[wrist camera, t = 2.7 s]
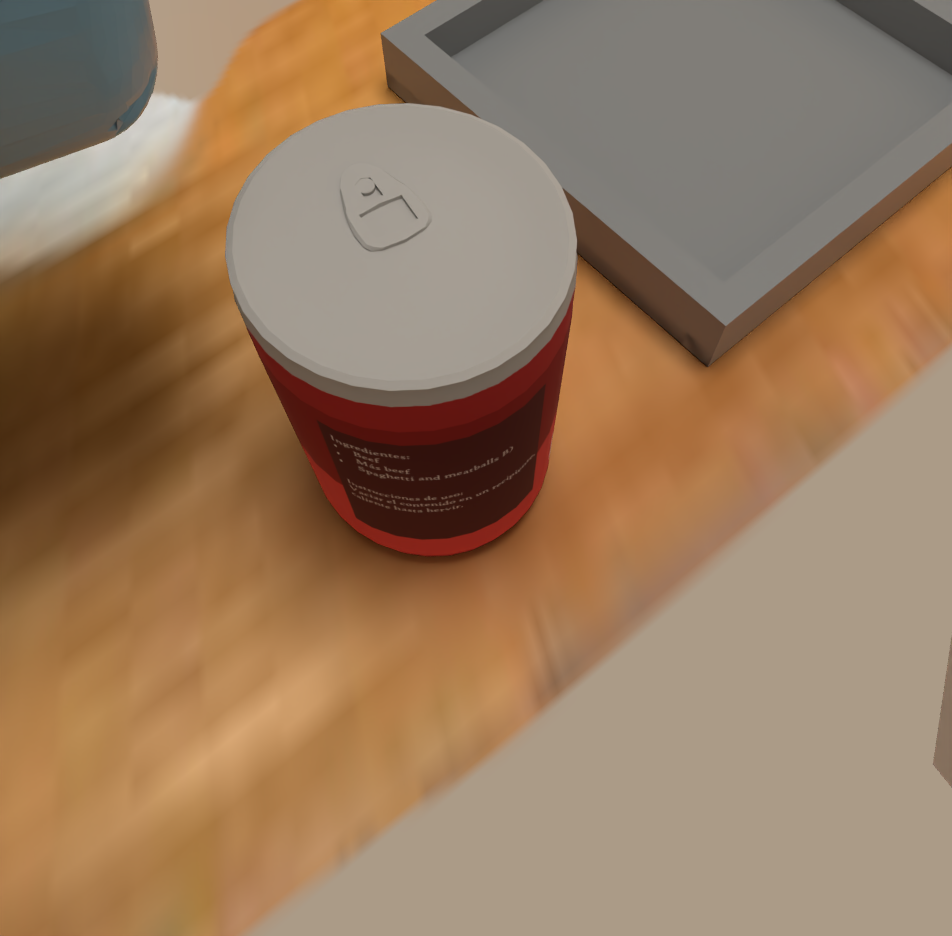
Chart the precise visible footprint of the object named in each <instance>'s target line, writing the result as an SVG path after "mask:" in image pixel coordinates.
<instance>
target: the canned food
mask: <svg viewBox="0 0 952 936" xmlns="http://www.w3.org/2000/svg"><path fill="white" fill-rule="evenodd" d="M576 249H577V237H576V231H575V225H574V219H573V213H572V211H571V208H570V206H569V203H568V201H567V198H566V196H565V194H564V191H563V189H562V187H561V185H560V184H559V182H558V181H557V180H556V178H555V177H554V175H553V174H552V172H551V171H550V169H549V168H548V167H547V165H546V164H545V163H544V162H543V161H542V160H541V159H540V158H539V157H538V156H537V155H536V154H535V153H534V152H533V151H532V150H531V149H530V148H529V147H528V146H526V145H525V144H524V143H523V142H521V141H520V140H518V139H517V138H515V137H514V136H512V135H511V134H509V133H508V132H506V131H505V130H503V129H502V128H500V127H498V126H496V125H494V124H492V123H489V122H487V121H485V120H482V119H480V118H478V117H476V116H473V115H471V114H467V113H463V112H460V111H456V110H452V109H448V108H444V107H440V106H431V105H421V104H412V103H403V104H379V105H373V106H368V107H362V108H357V109H352V110H347V111H344V112H341V113H338V114H336V115H333V116H330V117H327V118H324V119H322V120H319V121H317V122H315V123H313V124H311V125H309V126H307V127H306V128H304V129H302V130H300V131H298V132H296V133H295V134H293V135H291V136H290V137H288V138H287V139H286V140H285V141H283V142H282V143H281V144H280V145H278V146H277V147H276V148H275V149H273V150H272V151H271V152H270V153H268V154H267V155H266V157H265V158H264V159H263V160H262V161H261V162H260V164H259V165H258V166H257V167H256V168H255V169H254V170H253V172H252V173H251V174H250V175H249V176H248V178H247V180H246V182H245V184H244V185H243V187H242V189H241V191H240V192H239V194H238V196H237V198H236V200H235V202H234V205H233V209H232V212H231V215H230V219H229V222H228V225H227V233H226V251H225V257H226V263H227V268H228V273H229V279H230V284H231V286H232V289H233V293H234V298H235V302H236V304H237V306H238V309H239V311H240V313H241V315H242V318H243V320H244V322H245V324H246V327H247V330H248V332H249V335H250V337H251V339H252V341H253V344H254V346H255V348H256V350H257V352H258V355H259V357H260V359H261V361H262V363H263V365H264V367H265V369H266V372H267V374H268V376H269V378H270V380H271V382H272V384H273V386H274V388H275V390H276V393H277V395H278V397H279V399H280V401H281V403H282V405H283V407H284V409H285V412H286V414H287V416H288V418H289V420H290V422H291V424H292V426H293V428H294V430H295V433H296V435H297V437H298V439H299V441H300V443H301V445H302V447H303V449H304V452H305V454H306V456H307V458H308V460H309V462H310V464H311V466H312V468H313V470H314V473H315V475H316V477H317V479H318V481H319V483H320V485H321V487H322V489H323V492H324V494H325V496H326V498H327V499H328V500H329V502H330V503H331V504H332V506H333V507H334V509H335V510H336V511H337V513H338V514H339V515H340V516H341V517H342V518H343V519H344V520H345V521H346V522H347V523H348V524H349V525H351V526H352V527H353V528H354V529H355V530H356V531H357V532H359V533H361V534H362V535H364V536H366V537H367V538H369V539H371V540H372V541H374V542H376V543H378V544H380V545H383V546H386V547H389V548H391V549H394V550H397V551H400V552H403V553H407V554H414V555H421V556H450V555H454V554H458V553H462V552H467V551H471V550H473V549H476V548H478V547H480V546H482V545H484V544H486V543H489V542H491V541H493V540H494V539H496V538H497V537H499V536H500V535H501V534H503V533H504V532H505V531H507V530H508V529H510V528H511V527H512V526H514V525H515V524H516V523H517V522H518V521H519V519H520V518H521V517H522V516H523V515H524V514H525V513H526V512H527V510H528V509H529V508H530V507H531V505H532V503H533V502H534V500H535V498H536V496H537V495H538V493H539V491H540V489H541V487H542V484H543V481H544V478H545V474H546V471H547V468H548V463H549V456H550V450H551V444H552V438H553V431H554V425H555V419H556V412H557V406H558V400H559V394H560V387H561V381H562V375H563V369H564V362H565V356H566V350H567V344H568V337H569V331H570V325H571V319H572V309H573V299H574V292H575V285H576V272H577V259H578V257H577V251H576Z"/></svg>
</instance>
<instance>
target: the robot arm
mask: <svg viewBox="0 0 952 936" xmlns="http://www.w3.org/2000/svg"><path fill="white" fill-rule="evenodd" d="M157 58H158V55H157V43H156V37H155V32H154V26H153V21H152V16H151V11H150V6H149V1H148V0H0V179H1V178H4V177H7V176H9V175H12V174H15V173H18V172H21V171H24V170H26V169H29V168H32V167H35V166H38V165H40V164H43V163H46V162H49V161H52V160H54V159H57V158H60V157H63V156H66V155H69V154H71V153H74V152H77V151H80V150H83V149H85V148H88V147H91V146H94V145H97V144H99V143H102V142H105V141H107V140H110V139H112V138H114V137H116V136H117V135H119V134H121V133H122V132H124V131H125V130H127V129H128V128H129V127H130V126H131V125H132V124H133V123H134V122H135V121H136V120H137V119H138V118H139V117H140V116H141V114H142V112H143V111H144V109H145V108H146V106H147V104H148V102H149V99H150V97H151V94H152V93H153V89H154V85H155V80H156V76H157ZM933 765H934V766H935V768H936V769H937V770H938V771H939V772H940V774H941V775H942V776H943V777H944V779H945V780H946V781H947V782H948V783H949V785H950V786H951V787H952V638H951V645H950V652H949V659H948V665H947V673H946V679H945V686H944V692H943V700H942V706H941V713H940V720H939V727H938V734H937V741H936V747H935V754H934V762H933Z"/></svg>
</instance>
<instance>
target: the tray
mask: <svg viewBox="0 0 952 936" xmlns="http://www.w3.org/2000/svg"><path fill="white" fill-rule="evenodd" d="M381 39H382V47H383V54H384V62H385V69H386V77H387V84H388V87H389V88H390V89H391V90H393V91H394V92H395V93H396V94H397V95H398V96H399V97H401V98H402V99H403V100H404V101H405V102H406V103H412V104H421V105H431V106H440V107H444V108H448V109H452V110H456V111H460V112H463V113H467V114H471V115H473V116H476V117H478V118H480V119H482V120H485V121H487V122H489V123H492V124H494V125H496V126H498V127H500V128H502V129H503V130H505V131H506V132H508V133H509V134H511V135H512V136H514V137H515V138H517V139H518V140H520V141H521V142H523V143H524V144H525V145H526V146H528V147H529V148H530V149H531V150H532V151H533V152H534V153H535V154H536V155H537V156H538V157H539V158H540V159H541V160H542V161H543V162H544V163H545V164H546V165H547V167H548V168H549V169H550V171H551V172H552V174H553V175H554V177H555V178H556V180H557V181H558V182H559V184H560V185H561V187H562V189H563V191H564V194H565V196H566V198H567V201H568V203H569V206H570V208H571V211H572V213H573V219H574V225H575V231H576V237H577V249H576V251H577V253H578V254H579V255H581V256H582V257H583V258H584V259H585V260H586V261H587V262H589V263H590V264H591V265H592V266H593V267H594V268H595V269H597V270H598V271H599V272H600V273H601V274H602V275H603V276H605V277H606V278H607V279H608V280H609V281H610V282H611V283H613V284H614V285H615V286H616V287H617V288H618V289H619V290H621V291H622V292H623V293H624V294H625V295H626V296H627V297H629V298H630V299H631V300H632V301H633V302H634V303H635V304H636V305H638V306H639V307H640V308H641V309H642V310H643V311H644V312H646V313H647V314H648V315H649V316H650V317H651V318H652V319H654V320H655V321H656V322H657V323H658V324H659V325H660V326H662V327H663V328H664V329H665V330H666V331H667V332H668V333H670V334H671V335H672V336H673V337H674V338H675V339H676V340H678V341H679V342H680V343H681V344H682V345H683V346H684V347H685V348H687V349H688V350H689V351H690V352H691V353H692V354H693V355H695V356H696V357H697V358H698V359H699V360H700V361H701V362H703V363H704V364H705V365H706V366H707V367H708V366H709V365H711V364H712V363H713V362H714V361H715V360H717V359H718V358H719V357H720V356H722V355H723V354H724V353H725V352H726V351H728V350H729V349H730V348H731V347H732V346H734V345H735V344H736V343H737V342H739V341H740V340H741V339H742V338H743V337H745V336H746V335H747V334H748V333H749V332H751V331H752V330H753V329H754V328H756V327H757V326H758V325H759V324H760V323H762V322H763V321H764V320H765V319H767V318H768V317H769V316H770V315H771V314H773V313H774V312H775V311H776V310H777V309H779V308H780V307H781V306H782V305H784V304H785V303H786V302H787V301H788V300H790V299H791V298H792V297H793V296H794V295H796V294H797V293H798V292H799V291H801V290H802V289H803V288H804V287H805V286H807V285H808V284H809V283H810V282H812V281H813V280H814V279H815V278H816V277H818V276H819V275H820V274H821V273H822V272H824V271H825V270H826V269H827V268H829V267H830V266H831V265H832V264H833V263H835V262H836V261H837V260H838V259H839V258H841V257H842V256H843V255H844V254H846V253H847V252H848V251H849V250H850V249H852V248H853V247H854V246H855V245H857V244H858V243H859V242H860V241H861V240H863V239H864V238H865V237H866V236H867V235H869V234H870V233H871V232H872V231H874V230H875V229H876V228H877V227H878V226H880V225H881V224H882V223H883V222H884V221H886V220H887V219H888V218H889V217H891V216H892V215H893V214H894V213H895V212H897V211H898V210H899V209H900V208H902V207H903V206H904V205H905V204H906V203H908V202H909V201H910V200H911V199H912V198H914V197H915V196H916V195H917V194H919V193H920V192H921V191H922V190H923V189H925V188H926V187H927V186H928V185H929V184H931V183H932V182H933V181H934V180H936V179H937V178H938V177H939V176H940V175H942V174H943V173H944V172H945V171H947V170H948V169H949V168H950V167H951V166H952V0H436V1H435V2H433V3H431V4H430V5H428V6H426V7H425V8H423V9H421V10H419V11H418V12H416V13H414V14H413V15H411V16H409V17H408V18H406V19H404V20H402V21H401V22H399V23H397V24H396V25H394V26H392V27H391V28H389V29H387V30H385V31H384V32H382V33H381Z"/></svg>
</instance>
